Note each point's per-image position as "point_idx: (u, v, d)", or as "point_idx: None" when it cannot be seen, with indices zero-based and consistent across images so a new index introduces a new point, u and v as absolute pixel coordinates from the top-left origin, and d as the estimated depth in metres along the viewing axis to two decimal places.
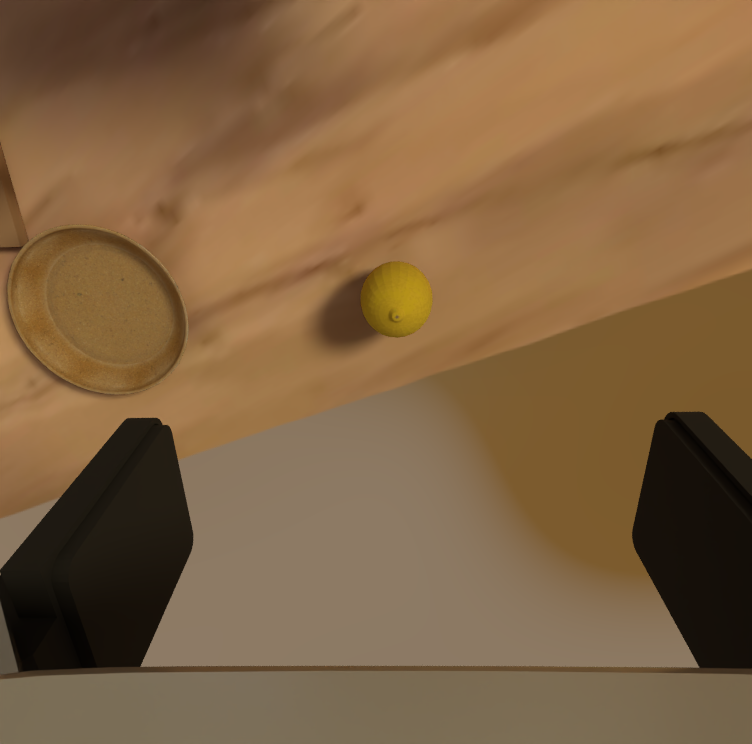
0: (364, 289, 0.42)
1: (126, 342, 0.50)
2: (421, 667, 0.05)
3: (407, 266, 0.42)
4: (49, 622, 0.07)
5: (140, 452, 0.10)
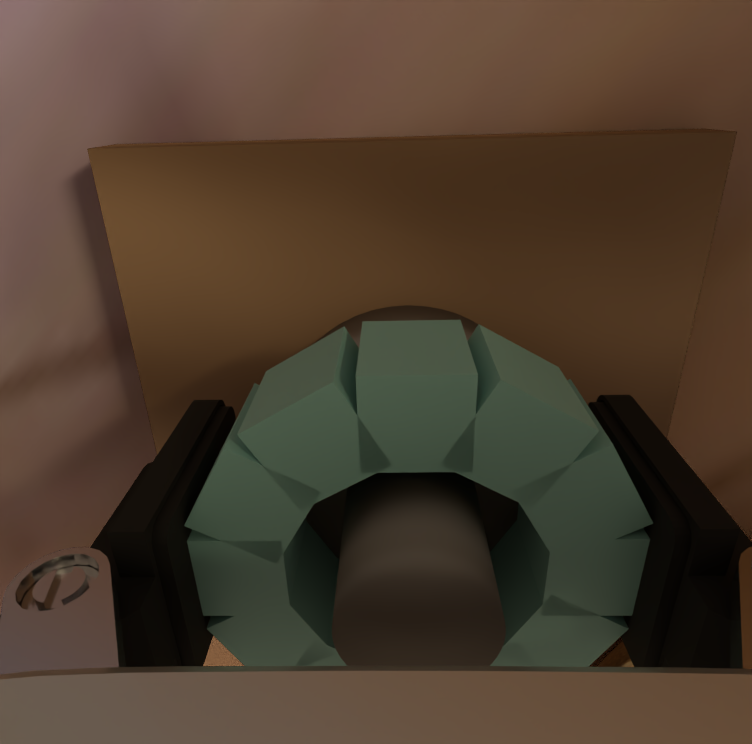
0: None
1: None
2: (421, 667, 0.05)
3: None
4: (148, 581, 0.08)
5: (212, 430, 0.10)
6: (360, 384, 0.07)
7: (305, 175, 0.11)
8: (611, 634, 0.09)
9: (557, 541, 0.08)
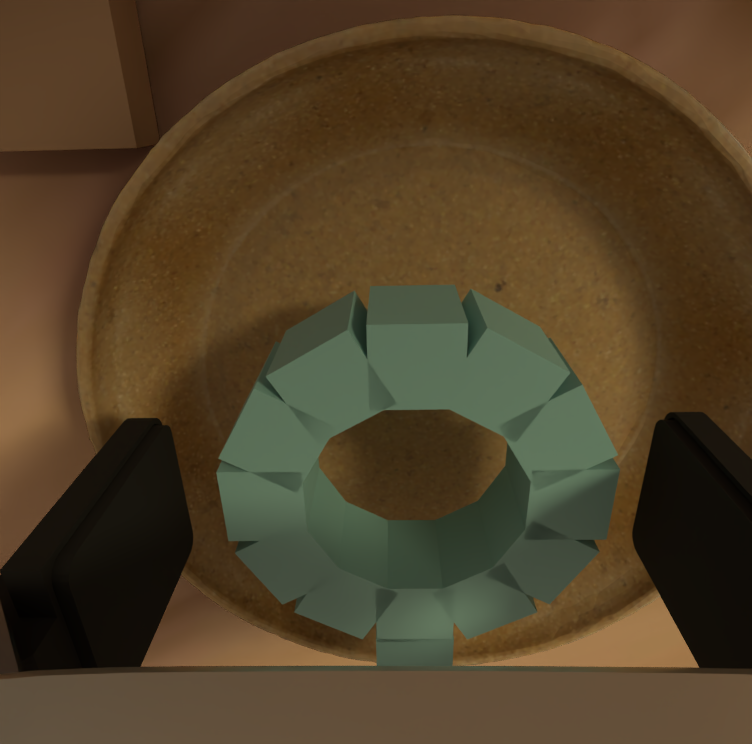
0: None
1: (453, 493, 0.15)
2: (421, 667, 0.05)
3: None
4: (49, 622, 0.07)
5: (140, 452, 0.10)
6: (370, 332, 0.09)
7: None
8: (585, 557, 0.11)
9: (537, 471, 0.10)
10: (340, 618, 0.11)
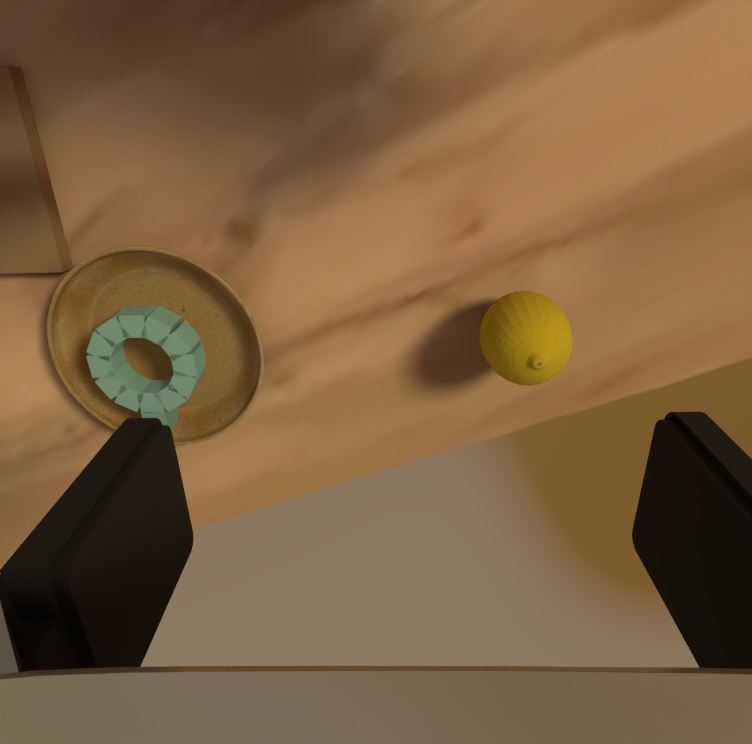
0: (490, 327, 0.34)
1: None
2: (421, 667, 0.05)
3: (543, 298, 0.34)
4: (49, 622, 0.07)
5: (140, 452, 0.10)
6: (119, 317, 0.35)
7: None
8: (193, 382, 0.37)
9: (171, 355, 0.37)
10: (128, 404, 0.38)
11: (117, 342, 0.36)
